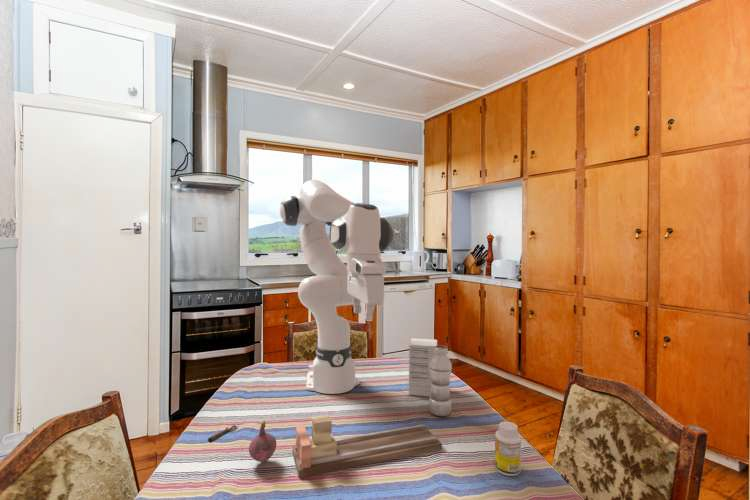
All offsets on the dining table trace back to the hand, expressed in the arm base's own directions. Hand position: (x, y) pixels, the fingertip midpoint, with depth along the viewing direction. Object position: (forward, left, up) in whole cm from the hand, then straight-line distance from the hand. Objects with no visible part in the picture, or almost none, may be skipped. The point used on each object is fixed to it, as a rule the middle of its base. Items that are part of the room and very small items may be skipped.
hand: (362, 316), depth 102 cm
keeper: (+10, -13, -29) cm, 34 cm away
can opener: (-10, -35, -32) cm, 48 cm away
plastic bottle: (-2, +25, -31) cm, 40 cm away
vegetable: (+7, -26, -31) cm, 41 cm away
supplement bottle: (+27, +26, -31) cm, 49 cm away
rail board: (+10, -1, -31) cm, 33 cm away
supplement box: (-19, +28, -31) cm, 46 cm away
